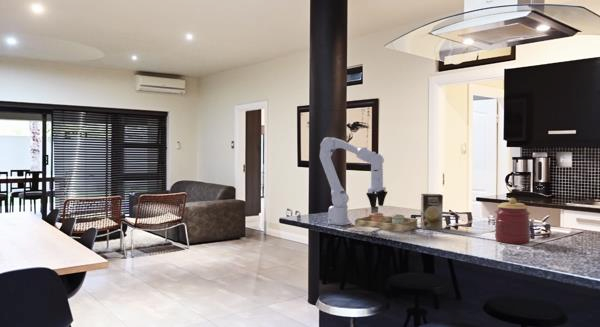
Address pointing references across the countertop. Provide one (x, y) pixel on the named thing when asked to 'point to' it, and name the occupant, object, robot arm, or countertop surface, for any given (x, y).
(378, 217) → the terracotta pot
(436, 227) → the coffee box
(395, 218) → the sage pot
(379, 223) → the compartment tray
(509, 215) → the canister
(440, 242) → the countertop surface
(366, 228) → the ceramic tile
